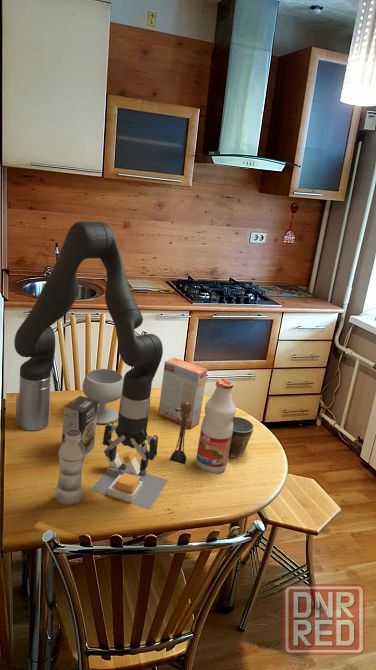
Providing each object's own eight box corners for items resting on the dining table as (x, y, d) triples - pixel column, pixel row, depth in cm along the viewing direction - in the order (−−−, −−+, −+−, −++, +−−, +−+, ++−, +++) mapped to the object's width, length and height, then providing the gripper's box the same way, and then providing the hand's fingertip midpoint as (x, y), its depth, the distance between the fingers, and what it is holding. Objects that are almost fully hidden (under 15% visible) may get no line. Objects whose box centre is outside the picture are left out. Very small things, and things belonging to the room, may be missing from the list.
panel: (89, 493, 137) (90, 483, 136) (112, 466, 150) (113, 457, 149) (149, 513, 133) (150, 502, 132) (167, 483, 146) (169, 474, 145)
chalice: (88, 428, 168) (91, 387, 163) (74, 409, 179) (77, 369, 174) (128, 422, 175) (132, 382, 170) (112, 404, 186) (116, 365, 181)
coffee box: (79, 462, 150) (82, 412, 145) (60, 455, 152) (63, 406, 146) (95, 447, 158) (99, 400, 153) (76, 441, 160) (80, 394, 155)
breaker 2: (131, 476, 143) (122, 457, 143) (135, 471, 146) (126, 452, 145) (137, 474, 143) (128, 455, 142) (141, 469, 145) (132, 450, 144)
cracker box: (199, 423, 181) (208, 368, 174) (190, 429, 176) (199, 373, 169) (167, 409, 188) (174, 356, 181) (157, 415, 183) (164, 360, 176)
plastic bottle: (57, 492, 136) (60, 425, 129) (83, 493, 137) (88, 427, 130) (52, 508, 130) (56, 438, 123) (80, 509, 131) (85, 440, 124)
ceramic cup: (254, 453, 167) (260, 426, 164) (235, 463, 160) (240, 435, 157) (223, 436, 175) (228, 409, 172) (204, 445, 168) (208, 417, 165)
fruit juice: (232, 468, 157) (248, 384, 148) (210, 478, 151) (225, 391, 142) (210, 453, 164) (224, 372, 154) (189, 462, 157) (201, 378, 148)
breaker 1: (111, 470, 145) (103, 451, 144) (116, 465, 147) (108, 446, 146) (117, 468, 144) (109, 449, 143) (122, 463, 147) (114, 444, 146)
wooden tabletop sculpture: (172, 467, 154) (181, 407, 147) (164, 459, 157) (172, 400, 151) (188, 463, 157) (198, 404, 150) (180, 455, 160) (189, 397, 154)
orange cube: (115, 494, 136) (116, 481, 135) (123, 485, 140) (124, 472, 139) (131, 499, 135) (132, 486, 134) (138, 490, 139) (139, 477, 138)
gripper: (101, 408, 128) (96, 464, 134) (154, 424, 125) (147, 481, 130) (115, 397, 135) (109, 450, 141) (165, 411, 132) (157, 465, 137)
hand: (127, 465), depth 135 cm, fingers open, 8 cm apart
